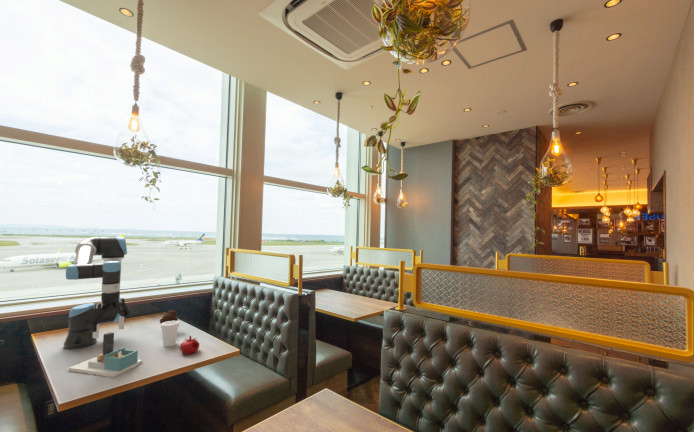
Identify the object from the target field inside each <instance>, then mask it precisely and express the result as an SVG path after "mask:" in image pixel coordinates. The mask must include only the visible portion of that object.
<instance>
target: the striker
mask: <svg viewBox="0 0 694 432" xmlns="http://www.w3.org/2000/svg"><path fill="white" fill-rule="evenodd" d="M114 339H115V332H111V331H110V332H106V333H104V334H103V342H102V353H100V354H97V355H96V357H97V362H102V363H105V354H108V353H110V352H113V351H114V342H115V341H114ZM118 355H119V352H117V353H115V354H112V355H110V356H111V357H118Z"/></svg>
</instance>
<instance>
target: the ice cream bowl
mask: <svg viewBox="0 0 694 432" xmlns="http://www.w3.org/2000/svg"><path fill="white" fill-rule="evenodd" d="M177 315H178V313H177V311H175V310H174V309H170V310H168V311H167V312H166V313H165V314H164V315H163V316H162V317H161V318H159V323H160V325H161V324H162V323H163V322H167V321H178V320H179V317H178V316H177Z"/></svg>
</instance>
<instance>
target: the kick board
mask: <svg viewBox="0 0 694 432" xmlns="http://www.w3.org/2000/svg"><path fill="white" fill-rule="evenodd" d="M121 355H122V354H121ZM121 355H120V354H118V357H119V356H121ZM142 363H143V359H137V363H135V364H133V365H131V366H129V367H127V368H125V369H123V370H121V371H114V370H106V369H104V363H102V362H97V356H95V357H92V358H89V359H87V360H85V361H82V362H79V363H78V364H75V365H72V366H70V367H68V372H73V373H74V372H75V373H80V374H81V373H82V374H87V373H88V374H87V375H94V374H96V375H95V376H100V375H102V376H101V377H106V378H107V377H108V378H109V377H110V378H114V377H117V376H119V375H121V374H123V373H124V372H127V371H129V370H131V369H134V368H136V367H137V366H139V365H141V364H142Z"/></svg>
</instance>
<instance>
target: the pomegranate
mask: <svg viewBox="0 0 694 432" xmlns="http://www.w3.org/2000/svg"><path fill="white" fill-rule="evenodd" d="M199 348H200V342H198V338H196V337H195V338H193V337H192V335H189V337H188V338H186V339H183V341H182V342H181V343H180V347H179V349H180V352H181V354H183V355H193V354H195V353H196V352H197V351H198V350H199Z"/></svg>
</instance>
